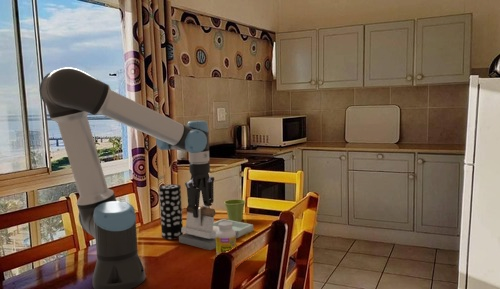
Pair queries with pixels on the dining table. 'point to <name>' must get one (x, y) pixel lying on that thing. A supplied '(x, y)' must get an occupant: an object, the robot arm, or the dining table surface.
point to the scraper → (206, 223)
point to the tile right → (215, 229)
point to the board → (199, 241)
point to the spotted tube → (171, 211)
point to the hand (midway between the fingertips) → (202, 224)
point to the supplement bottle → (225, 237)
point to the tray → (238, 227)
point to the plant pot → (235, 209)
